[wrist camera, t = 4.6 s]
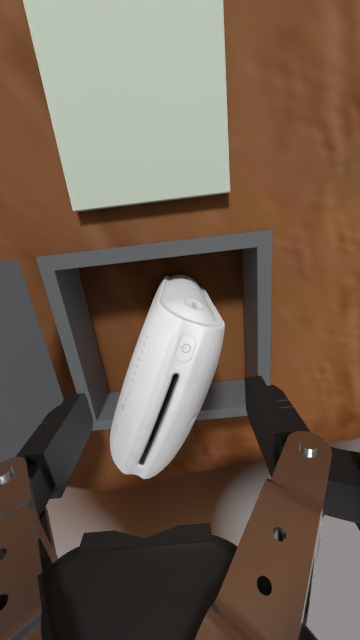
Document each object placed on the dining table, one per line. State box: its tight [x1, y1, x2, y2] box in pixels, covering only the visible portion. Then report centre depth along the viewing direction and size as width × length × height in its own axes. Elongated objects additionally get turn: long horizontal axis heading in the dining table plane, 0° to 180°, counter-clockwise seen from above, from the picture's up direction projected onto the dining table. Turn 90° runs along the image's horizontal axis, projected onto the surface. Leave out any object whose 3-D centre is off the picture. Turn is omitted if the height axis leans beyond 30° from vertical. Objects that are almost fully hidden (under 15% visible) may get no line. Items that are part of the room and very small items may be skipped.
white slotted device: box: [110, 275, 225, 479], centre depth 16 cm, size 10×4×12 cm, turn 161°
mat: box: [23, 0, 230, 212], centre depth 16 cm, size 12×12×1 cm
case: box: [36, 230, 272, 431], centre depth 20 cm, size 16×15×4 cm
